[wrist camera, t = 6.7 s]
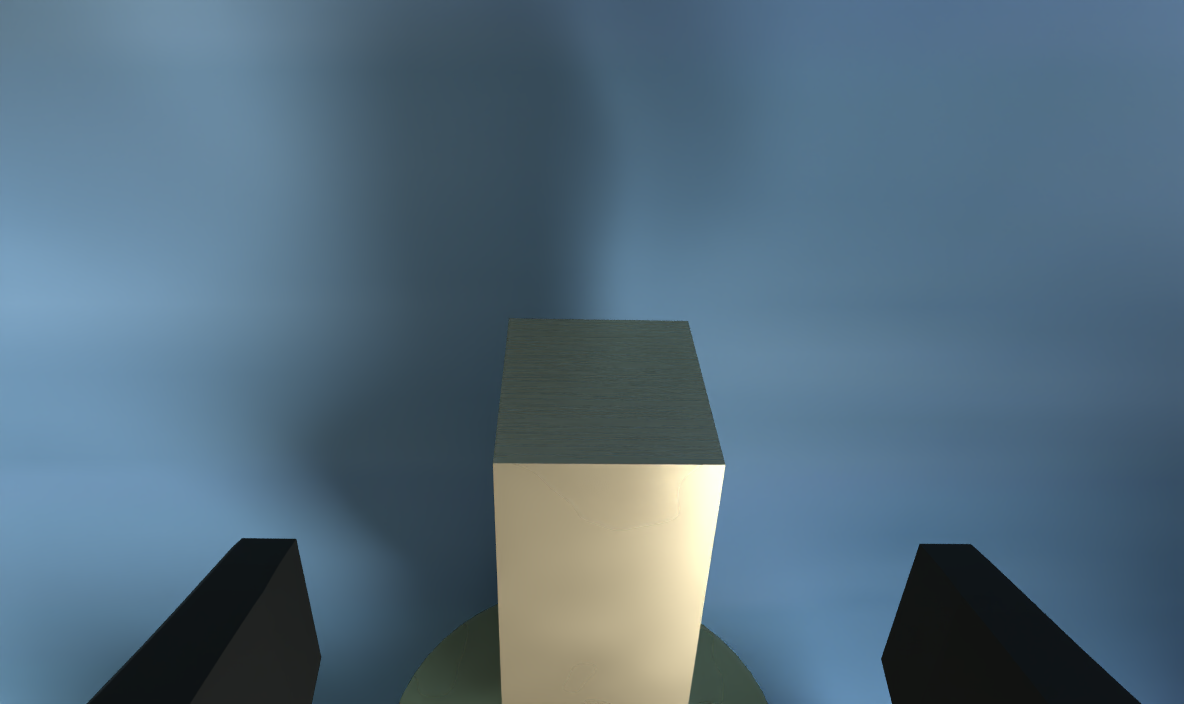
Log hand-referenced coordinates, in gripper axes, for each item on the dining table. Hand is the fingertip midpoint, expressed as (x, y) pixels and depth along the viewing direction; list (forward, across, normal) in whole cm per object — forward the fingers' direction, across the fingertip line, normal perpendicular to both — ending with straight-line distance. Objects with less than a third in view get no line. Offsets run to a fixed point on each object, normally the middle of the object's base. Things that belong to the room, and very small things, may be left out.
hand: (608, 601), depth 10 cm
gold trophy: (+5, 0, +5) cm, 7 cm away
